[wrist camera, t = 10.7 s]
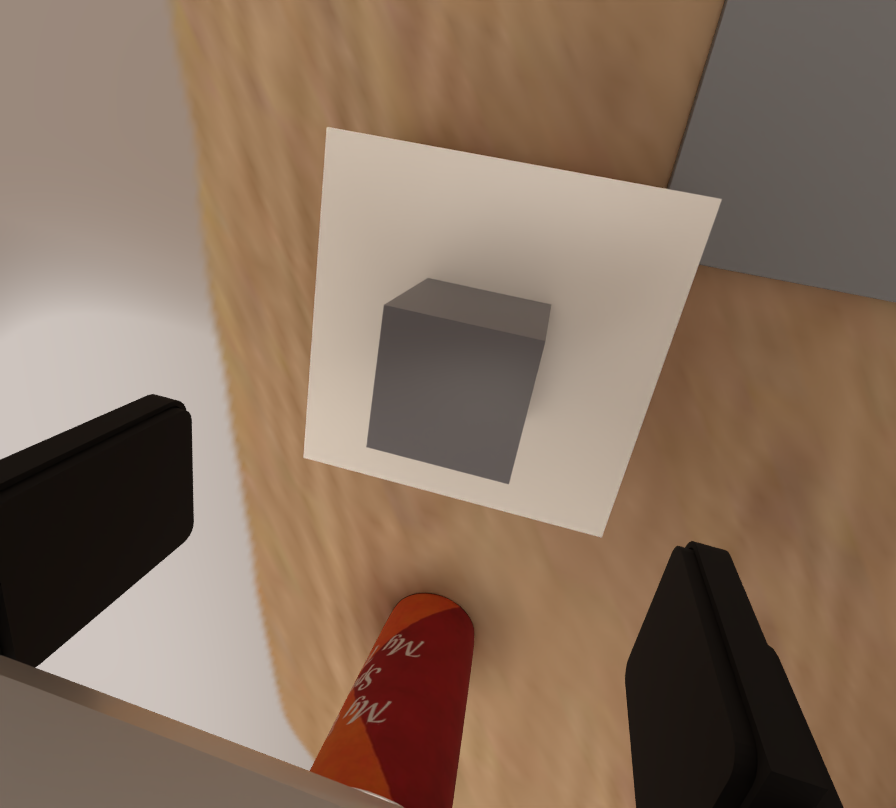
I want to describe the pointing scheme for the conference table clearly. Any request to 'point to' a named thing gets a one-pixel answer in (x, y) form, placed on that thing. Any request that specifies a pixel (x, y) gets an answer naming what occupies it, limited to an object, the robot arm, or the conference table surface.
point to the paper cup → (406, 708)
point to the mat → (799, 143)
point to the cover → (492, 323)
